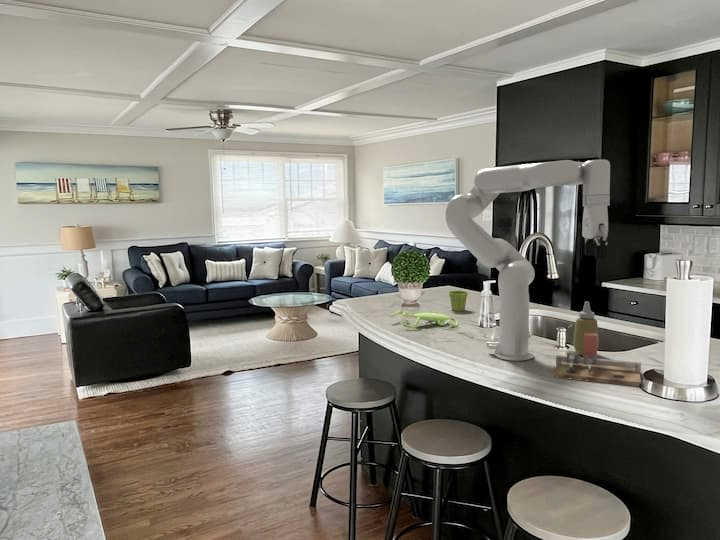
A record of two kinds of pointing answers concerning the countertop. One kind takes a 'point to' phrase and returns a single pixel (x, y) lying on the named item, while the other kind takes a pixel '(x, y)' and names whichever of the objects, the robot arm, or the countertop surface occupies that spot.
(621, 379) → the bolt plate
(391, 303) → the countertop surface
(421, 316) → the figurine
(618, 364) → the trammel rail
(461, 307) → the plant pot
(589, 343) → the sliding leg
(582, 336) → the squeeze bottle
